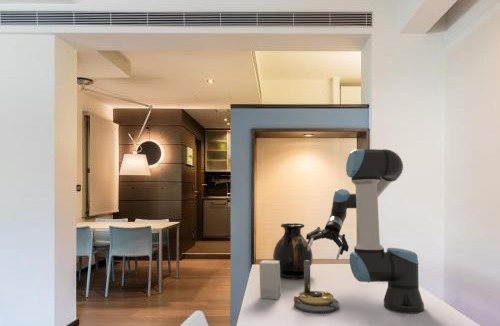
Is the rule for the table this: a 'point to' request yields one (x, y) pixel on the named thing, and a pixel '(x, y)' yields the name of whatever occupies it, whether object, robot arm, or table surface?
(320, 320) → the table surface
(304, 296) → the brass disc with post
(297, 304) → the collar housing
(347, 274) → the table surface
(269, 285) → the skincare box
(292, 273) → the black vase
